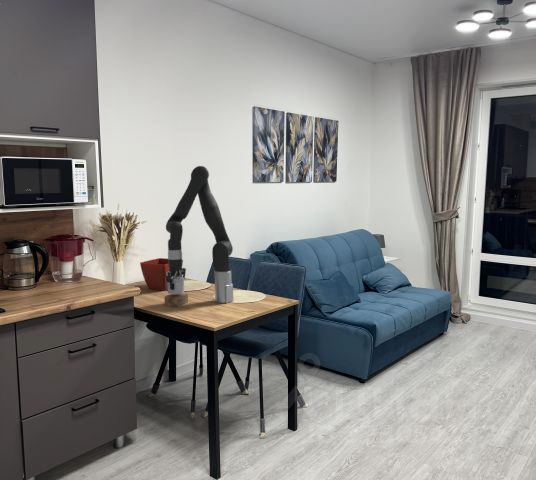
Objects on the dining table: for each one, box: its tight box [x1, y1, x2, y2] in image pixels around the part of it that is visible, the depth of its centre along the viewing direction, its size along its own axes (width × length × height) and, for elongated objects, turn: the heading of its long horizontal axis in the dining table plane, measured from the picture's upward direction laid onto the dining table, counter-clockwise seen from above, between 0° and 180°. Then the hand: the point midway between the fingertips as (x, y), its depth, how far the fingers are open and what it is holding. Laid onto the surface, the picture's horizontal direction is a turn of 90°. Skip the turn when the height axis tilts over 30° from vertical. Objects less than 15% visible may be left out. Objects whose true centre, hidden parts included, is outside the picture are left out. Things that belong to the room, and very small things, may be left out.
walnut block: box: [163, 293, 189, 308], centre depth 264 cm, size 9×9×5 cm
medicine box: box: [167, 276, 185, 295], centre depth 263 cm, size 8×4×9 cm, turn 74°
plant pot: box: [139, 257, 184, 291], centre depth 301 cm, size 19×19×17 cm
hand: (176, 288), depth 264 cm, fingers closed on medicine box, 5 cm apart
